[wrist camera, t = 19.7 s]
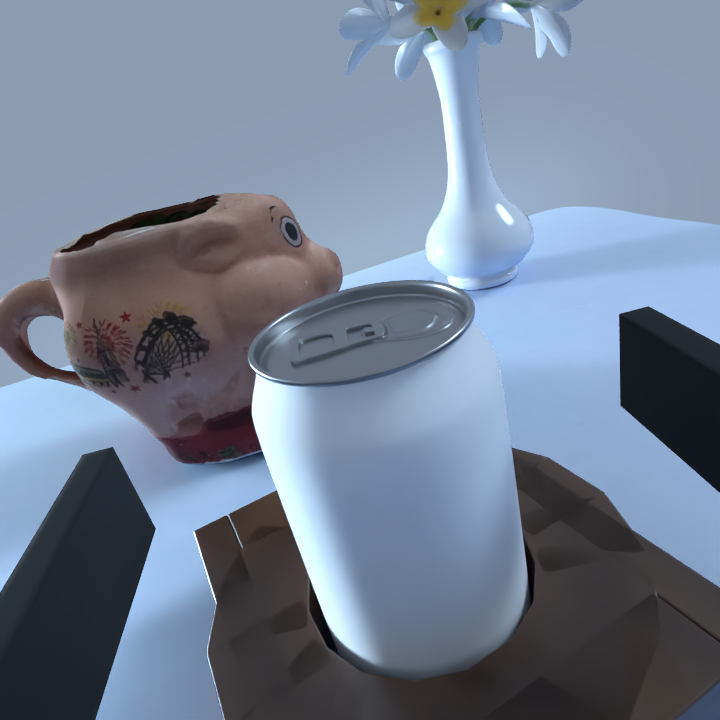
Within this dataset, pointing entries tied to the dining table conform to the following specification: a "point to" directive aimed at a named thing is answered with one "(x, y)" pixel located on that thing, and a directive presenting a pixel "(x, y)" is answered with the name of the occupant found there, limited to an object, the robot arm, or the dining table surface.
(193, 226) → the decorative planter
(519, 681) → the holder
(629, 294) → the dining table surface
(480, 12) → the flower vase
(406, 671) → the can
